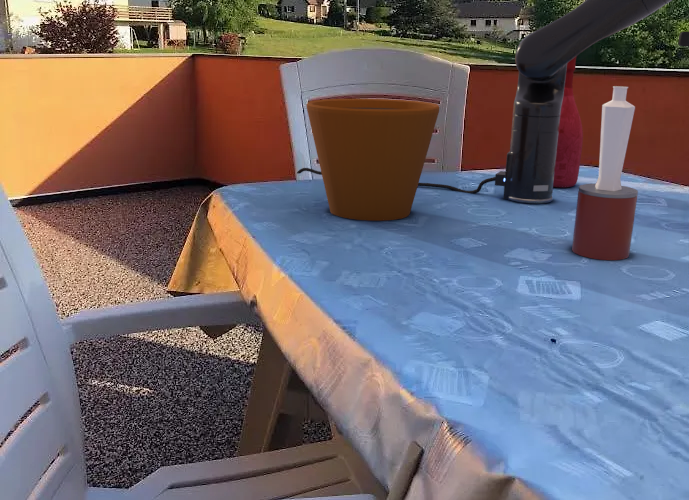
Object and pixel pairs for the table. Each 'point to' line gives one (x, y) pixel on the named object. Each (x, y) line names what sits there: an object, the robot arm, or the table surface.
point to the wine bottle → (568, 136)
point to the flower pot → (371, 153)
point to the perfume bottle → (614, 139)
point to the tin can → (604, 222)
